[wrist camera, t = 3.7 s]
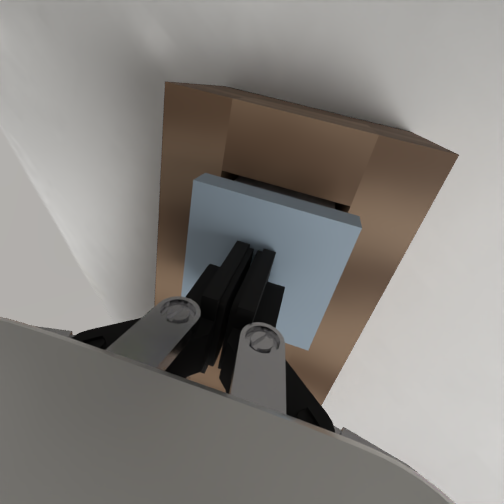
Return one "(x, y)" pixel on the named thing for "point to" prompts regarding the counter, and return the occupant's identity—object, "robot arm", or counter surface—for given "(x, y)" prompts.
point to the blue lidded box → (273, 243)
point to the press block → (305, 181)
